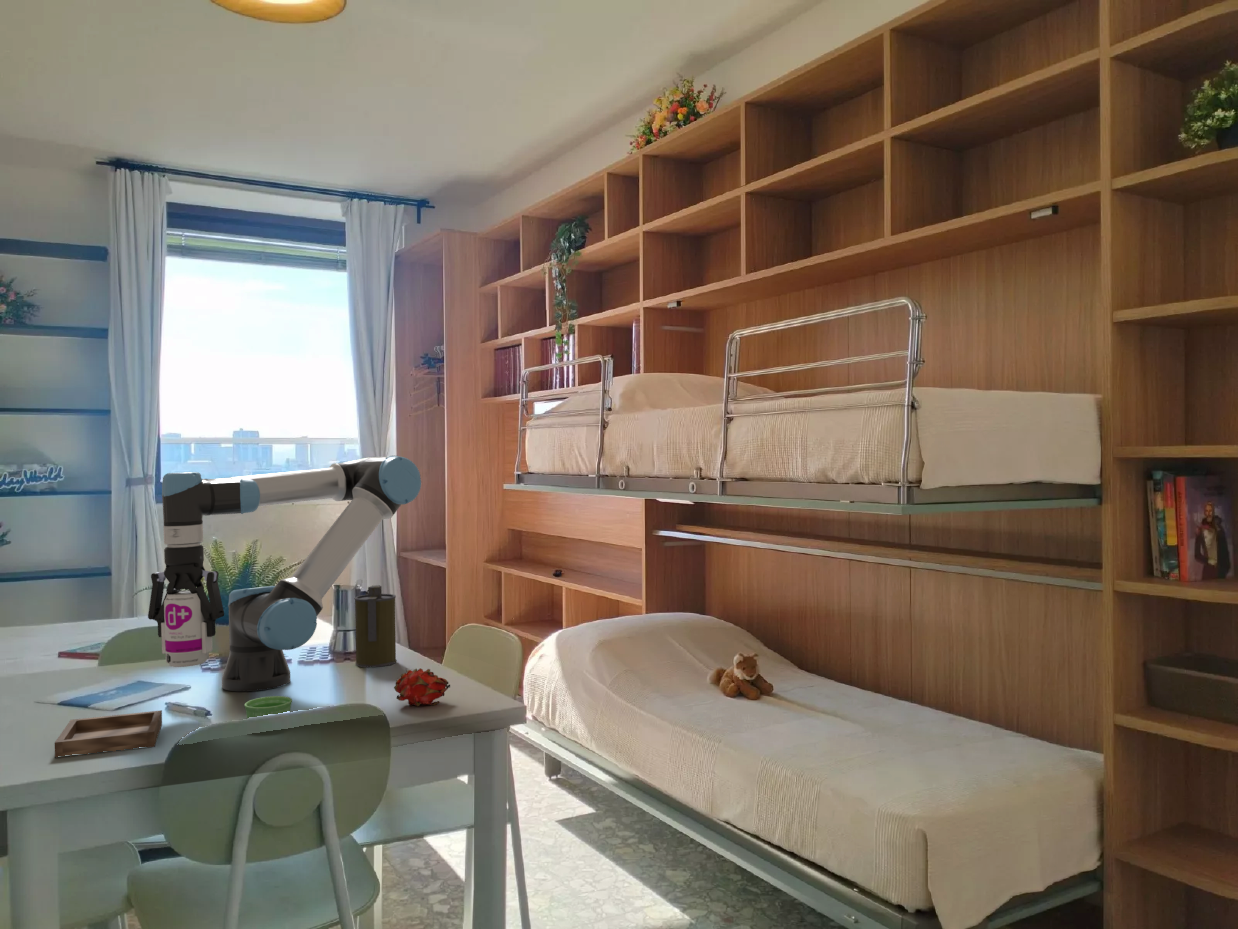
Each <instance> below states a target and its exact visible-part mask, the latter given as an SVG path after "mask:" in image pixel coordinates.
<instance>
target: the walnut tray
mask: <svg viewBox="0 0 1238 929" xmlns="http://www.w3.org/2000/svg"><path fill="white" fill-rule="evenodd" d="M162 726H163V710H151V711H142V712H132V713H123V714H112V715H103V716H95V717H83V718H76V719H70V720H69V721H68V723H67V725H66V726H65V727H64V729H63V730H62V731H61V733H60V734H59V735H58V737H57V739H56V740H55V741H54V758H55V757H58V756H65V755H72V754H87V755H89V754H88V753H96V754H98V753H97V752H103V751H113V752H117V751H116V750H121V751H125V750H124V749H130V750H134V749H133V748H138V749H140V748H139V747H147V748H153V747H156V744H157V740H158V737H159V735H160V732H161V729H162Z"/></svg>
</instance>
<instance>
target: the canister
mask: <svg viewBox="0 0 1238 929" xmlns="http://www.w3.org/2000/svg"><path fill="white" fill-rule="evenodd" d="M382 591H383V590H382V585H379V584H378V585H371V586H368V587H367V590H366V592H365V594H361V595H357V596H355V597H354V604H355V605H354V608H355V611H354V612H355V614H354V615H355V666H357V667H361V668H368V669H369V668H382V667H388V666H392V665H394V664H396V663H397V658H396V657H397V656H396V655H397V654H396V653H397V652H396V651H397V650H396V649H397V648H396V647H397V646H396V644H397V643H396V594H391V593H382Z"/></svg>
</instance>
